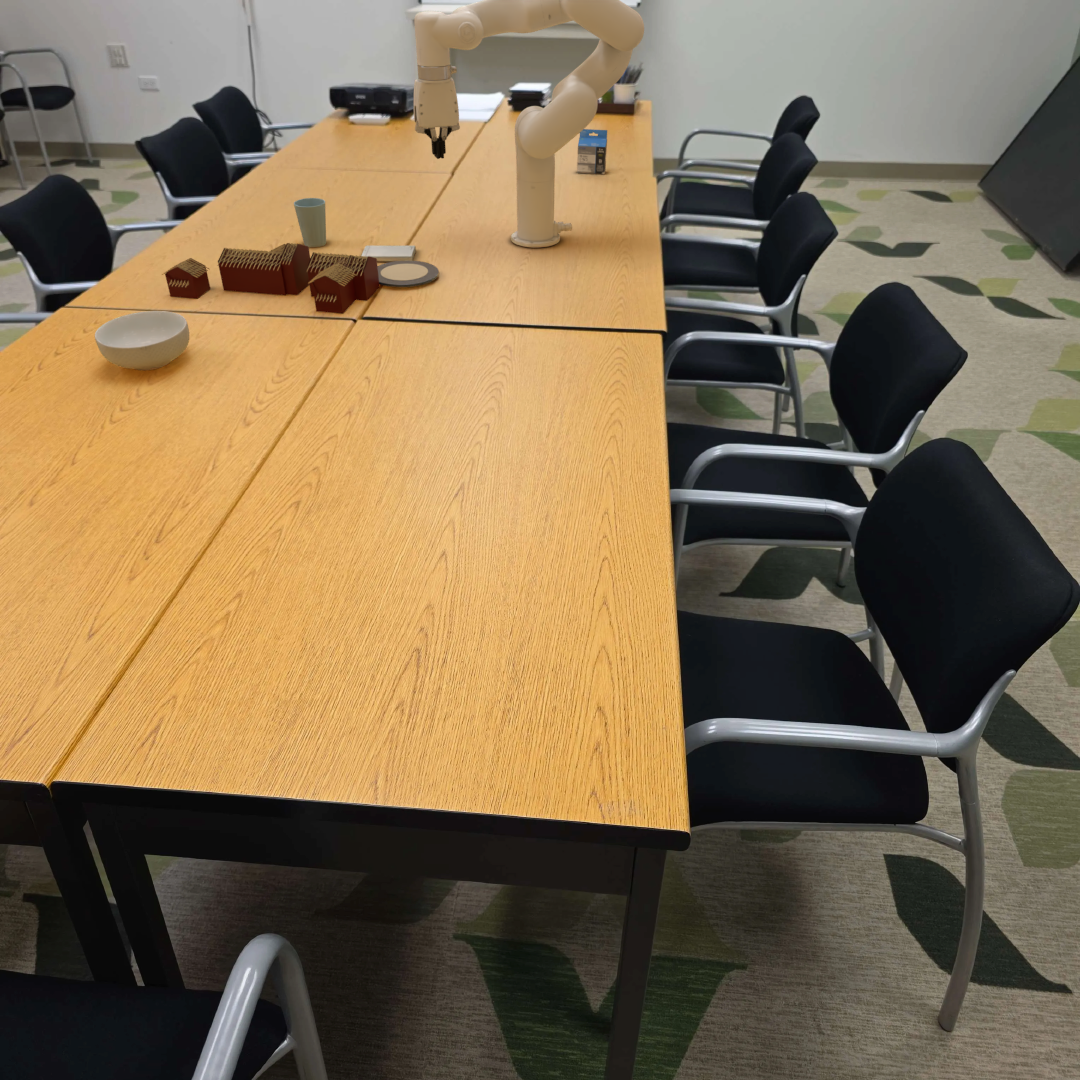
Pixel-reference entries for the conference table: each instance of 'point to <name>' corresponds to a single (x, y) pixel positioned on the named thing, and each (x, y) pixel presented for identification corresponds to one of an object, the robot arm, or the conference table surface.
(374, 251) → the hard drive
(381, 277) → the plate
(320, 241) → the cup
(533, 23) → the robot arm
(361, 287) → the toy houses
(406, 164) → the conference table surface
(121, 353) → the cereal bowl
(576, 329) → the conference table surface
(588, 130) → the ink cartridge box
